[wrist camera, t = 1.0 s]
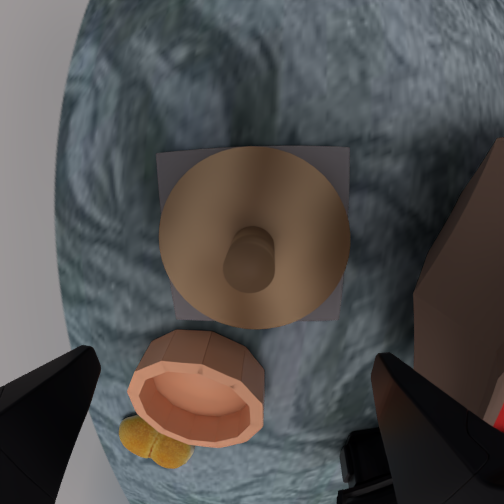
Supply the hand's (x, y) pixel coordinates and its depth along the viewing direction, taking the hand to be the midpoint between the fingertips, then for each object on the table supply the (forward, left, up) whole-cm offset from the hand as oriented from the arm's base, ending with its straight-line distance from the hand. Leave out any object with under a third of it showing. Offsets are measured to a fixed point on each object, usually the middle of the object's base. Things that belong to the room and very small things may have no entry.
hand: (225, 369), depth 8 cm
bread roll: (+12, +24, -13) cm, 29 cm away
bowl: (+5, +13, -12) cm, 18 cm away
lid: (0, 0, -12) cm, 12 cm away
